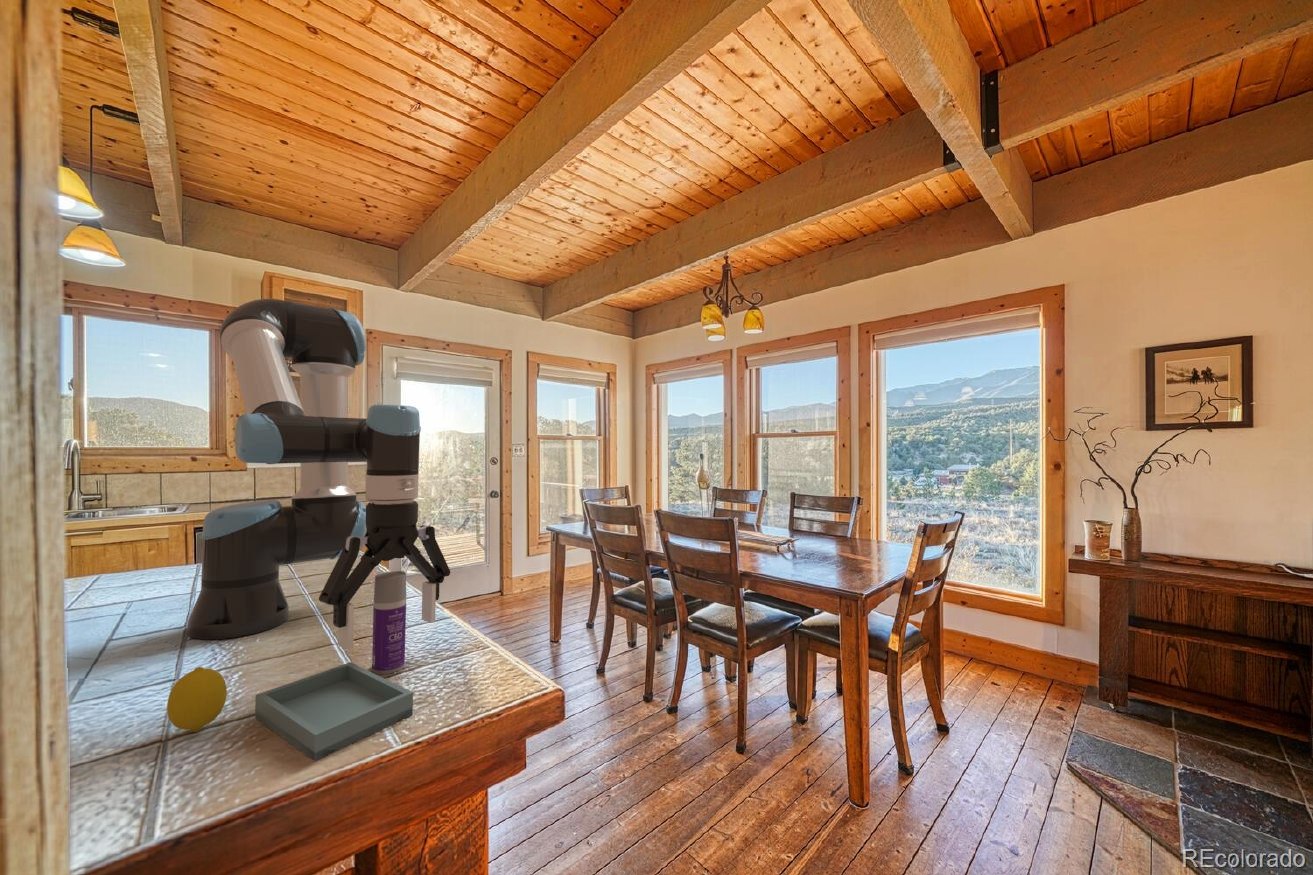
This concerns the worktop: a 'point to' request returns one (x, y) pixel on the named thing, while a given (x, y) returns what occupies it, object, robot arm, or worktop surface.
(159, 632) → the worktop surface
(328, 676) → the tray
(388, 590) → the container
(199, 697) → the lemon
